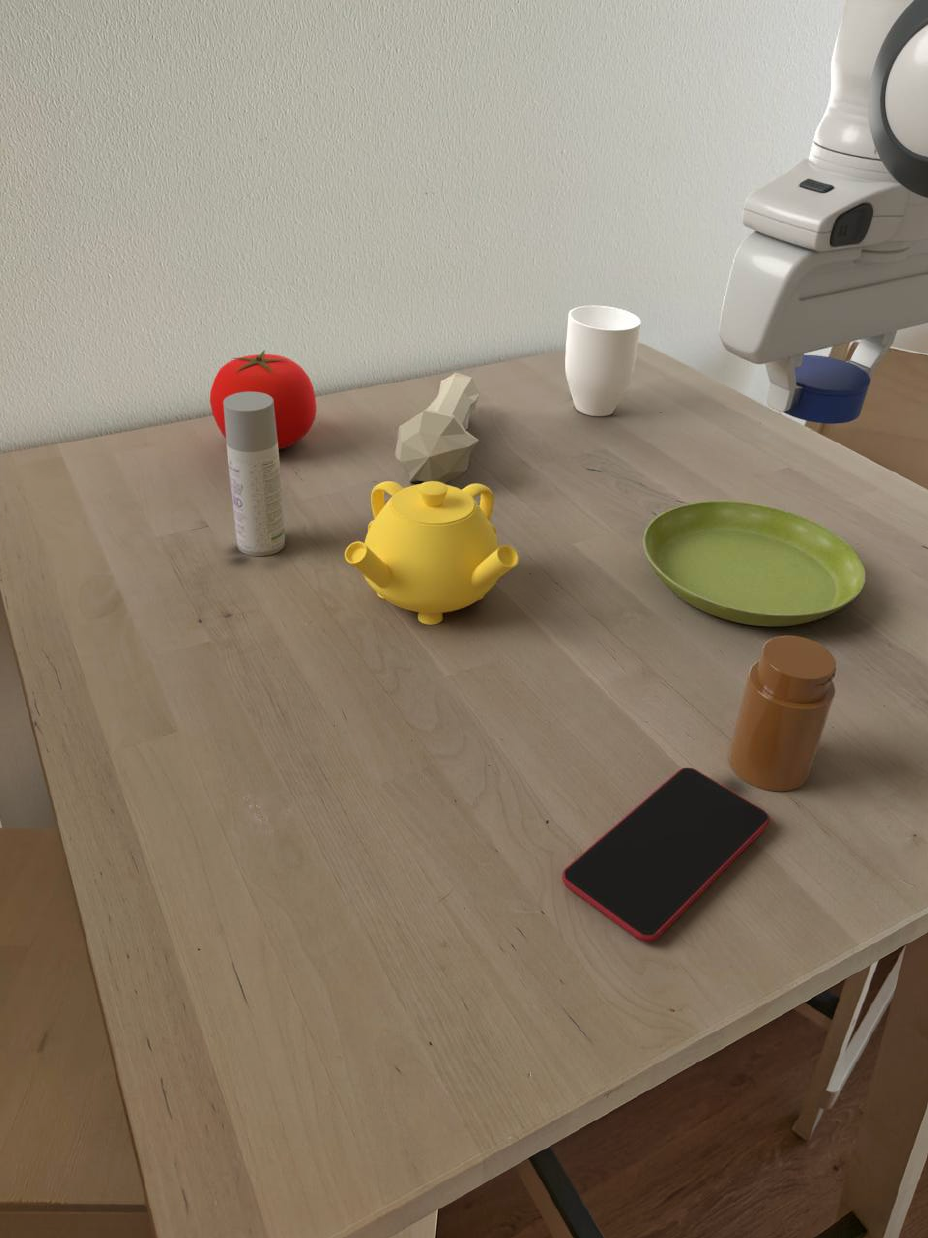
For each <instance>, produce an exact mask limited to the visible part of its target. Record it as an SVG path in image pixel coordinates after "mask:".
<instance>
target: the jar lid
mask: <svg viewBox="0 0 928 1238" xmlns="http://www.w3.org/2000/svg"><path fill="white" fill-rule="evenodd" d="M795 376H796V384H799V385H801V386H804V389H803V393H802V396H801V397H800V404H799V406H798V407H797V408H794V409H791V410H788V411H784V412H783V413H784V414H785V415H788V416H790V417H793V418H796V419H799V420H803V421H806V422H811V423H817V424H829V425H835V424H837V425H838V424H846V423H850V422H853V421H854V420H857V419H858V418H859V417H860V415H861V413H862V409H863V407H864V403H865V400H866V397H867V394H868V390H869V387H870V385H871V383H870V377H869V375H868V374H867V373H866V372H865V371H864V370H863V369H861V368H859V367H857V366H856V365H853V364H851V363H849V362H846V361H845V360H843V359H839V358H835V357H831V356H825V355H819V354H818V355H817V354H804V356H803V360H802V364H801V366H800V367H797V368H796V367H795ZM869 384H870V385H869Z"/></svg>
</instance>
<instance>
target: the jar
mask: <svg viewBox="0 0 928 1238" xmlns="http://www.w3.org/2000/svg"><path fill="white" fill-rule="evenodd" d="M836 667H837V662H836V659H835V657H834V655H833V654H832V652H831V651H830V650H829V649H828V648H826V647H825V646H823V644H821V643H819V642H817V641H815V640H812V639H809V638H806V637H802V636H796V635H781V636H775V637H771V638H769V639H768V640H766V641H765V643H764V644H763V646H762V650H761V653H760V656H759V660H756V662H754V663H753V664H752V665H751V667H750V668H749V671H748V675H747V679H746V682H745V686H744V689H743V693H742V697H741V702H740V706H739V709H738V714H737V718H736V721H735V724H734V729H733V733H732V737H731V741H730V744H729V745H730V746H729V748H728V749H729V750H728V754H727V759H728V764H729V765H730V767H731V769H732V771H733V772H734V773H735V774H736V775H737V776H738V777H739V778H741V780H742V781H744V782H746V783H748V784H749V785H752V786H754V787H756V788H758V789H761V790H765V791H770V792H788V791H793V790H796V789H798V788H800V787H801V786H802V785H804V784H805V783H806V782H807V780H808V779H809V776H810V773H811V770H812V766H813V763H814V761H815V757H816V754H817V751H818V749H819V745H820V742H821V740H822V735H823V733H824V729H825V727H826V723H827V720H828V718H829V714H830V712H831V708H832V705H833V702H834V698H835V695H836V687H835V683H834V681H833V680H834V679H835V677H836V672H837V668H836Z"/></svg>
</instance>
